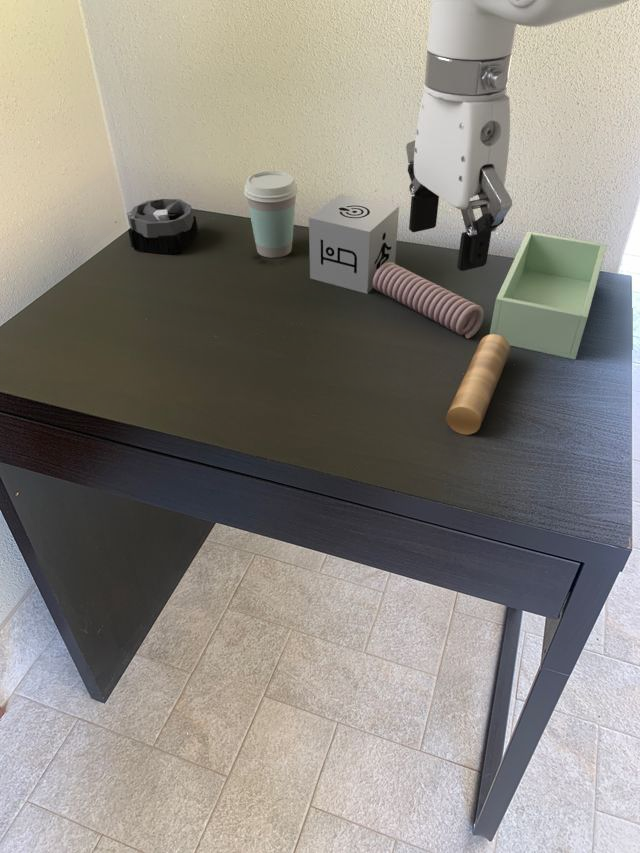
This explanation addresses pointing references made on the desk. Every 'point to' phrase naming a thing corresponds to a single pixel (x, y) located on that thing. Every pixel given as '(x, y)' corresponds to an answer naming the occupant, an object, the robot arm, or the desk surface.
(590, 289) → the bin
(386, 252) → the icon cube
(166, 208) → the cpu cooler
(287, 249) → the coffee cup
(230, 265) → the desk surface
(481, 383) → the wooden cylinder
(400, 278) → the coil
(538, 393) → the desk surface
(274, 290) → the desk surface
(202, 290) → the desk surface
